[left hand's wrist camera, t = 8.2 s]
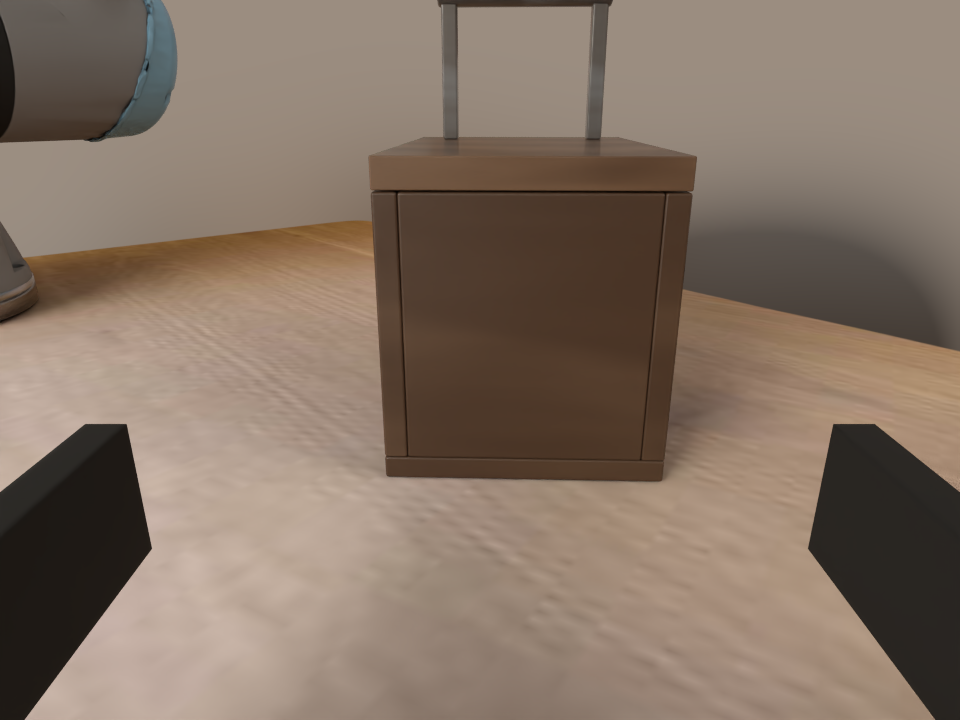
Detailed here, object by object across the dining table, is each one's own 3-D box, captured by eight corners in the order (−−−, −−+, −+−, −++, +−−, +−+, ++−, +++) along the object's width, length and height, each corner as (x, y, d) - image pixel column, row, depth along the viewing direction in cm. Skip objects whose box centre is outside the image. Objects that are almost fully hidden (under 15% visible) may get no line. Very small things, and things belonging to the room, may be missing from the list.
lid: (423, 158, 36) (418, -30, 33) (617, 158, 35) (630, -32, 32) (370, 190, 21) (351, -139, 18) (693, 191, 21) (729, -143, 18)
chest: (428, 346, 39) (422, 159, 35) (605, 348, 38) (619, 160, 35) (386, 477, 25) (370, 192, 21) (662, 481, 25) (693, 193, 21)
